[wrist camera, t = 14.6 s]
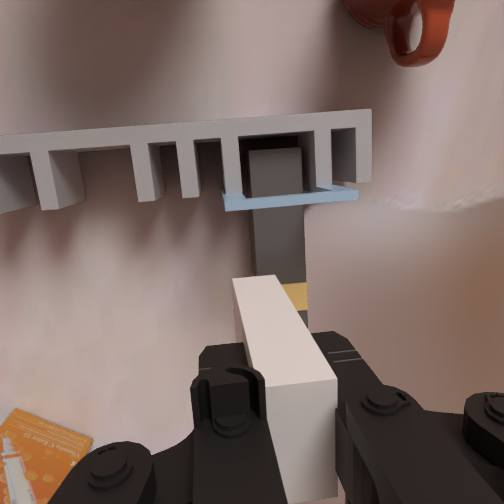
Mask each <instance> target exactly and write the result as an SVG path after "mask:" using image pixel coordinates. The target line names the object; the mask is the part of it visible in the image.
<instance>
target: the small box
mask: <svg viewBox="0 0 504 504" xmlns="http://www.w3.org/2000/svg"><path fill="white" fill-rule="evenodd" d="M92 441H93V438H90V437H87V436H84V435H81V434H79V433H76V432H73V431H71V430H68V429H66V428H64V427H61V426H58V425H56V424H53V423H51V422H48V421H46V420H44V419H41V418H39V417H36V416H34V415H32V414H29V413H27V412H24V411H23V410H20V409H18V408H15V409H14V410H13V411H12V412H11V413H10V415H9V416H8V417H7V418H6V419H5V421H4V422H3V423H2V424H1V426H0V504H47V503H48V501H49V500H50V499H51V497H52V496H53V494H54V493H55V492H56V490H57V489H58V487H59V486H60V485H61V483H62V482H63V480H64V479H65V477H66V476H67V475H68V473H69V472H70V470H71V469H72V468H73V467H74V466H75V465H76V464H77V463H78V462H79V461H80V460H81V459H82V458H83V457H84V456H86V455H87V453H88V450H89V448H90V446H91V444H92Z"/></svg>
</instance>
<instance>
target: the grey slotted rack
mask: <svg viewBox="0 0 504 504" xmlns="http://www.w3.org/2000/svg"><path fill="white" fill-rule="evenodd" d="M295 135H297V147H301V158H302V183H304V184H308V185H312V186H316V187H318V186H330V185H332V170H333V179H334V180H340V181H346V182H352V183H364V182H372V109H358V110H344V111H331V112H317V113H303V114H289V115H276V116H262V117H248V118H234V119H221V120H207V121H193V122H180V123H166V124H152V125H138V126H125V127H111V128H97V129H83V130H70V131H56V132H42V133H28V134H15V135H1V136H0V214H3V213H7V212H10V211H14V210H18V209H22V208H26V207H30V206H34V205H37V202H36V197H35V193H34V188H33V183H32V178H31V173H30V169H29V164H28V159H27V156H31V161H32V166H33V171H34V176H35V181H36V185H37V190H38V195H39V200H40V205H41V210H42V211H43V210H55V209H61V208H64V207H67V206H70V205H73V204H77V203H80V202H83V201H86V197H85V192H84V186H83V181H82V175H81V169H80V164H79V158H78V153H77V152H87V151H100V150H113V149H126V148H130V149H131V155H132V162H133V169H134V176H135V183H136V190H137V196H138V202H146V201H156V200H157V199H158V198H160V197H161V196H163V195H164V194H165V188H164V180H163V172H162V165H161V157H160V149H159V146H165V145H176V147H177V156H178V164H179V172H180V181H181V189H182V197H183V198H192V197H199V196H200V194H201V191H202V189H201V179H200V170H199V161H198V152H197V143H204V142H217V141H220V151H221V162H222V173H223V183H224V190H225V193H226V195H227V194H238V193H242V181H241V169H240V156H239V144H238V140H243V139H256V138H269V137H282V136H295ZM331 135H332V160H331Z"/></svg>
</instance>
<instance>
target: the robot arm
mask: <svg viewBox="0 0 504 504" xmlns="http://www.w3.org/2000/svg"><path fill="white" fill-rule="evenodd" d="M232 284H233V298H234V312H235V326H236V340H237V343H231V344H221V345H212V346H206V348H205V349H204V350H203V352H202V353H201V354H200V356H199V375H198V376H197V377H196V378H195V379H194V380H193V382H192V385H191V387H190V393H191V402H192V411H193V421H194V429H193V431H192V432H191V433H190V434H189V435H188V436H187V438H185V439H184V440H183V441H181V442H180V443H178V444H177V445H175V446H173V447H171V448H169V449H167V450H164V451H161V452H159V453H156V454H154V455H151V453H150V451H149V450H148V449H147V448H145V447H144V446H143V445H141V444H139V443H134V442H129V441H125V442H115V443H111V444H108V445H105V446H102V447H99V448H97V449H95V450H94V451H92V452H90V453H89V454H87V455H86V456H84V457H83V458H82V459H81V460H80V461H79V462H78V463H77V464H76V465H75V466H74V467H73V468H72V469H71V470H70V472H69V473H68V475H67V476H66V477H65V479H64V480H63V482H62V483H61V485H60V486H59V487H58V489H57V490H56V492H55V493H54V494H53V496H52V497H51V499H50V500H49V501H48V503H47V504H293V503H300V502H306V501H313V500H319V499H325V498H332V497H337V496H338V492H337V489H338V487H337V486H338V485H337V483H338V482H337V481H338V478H337V477H339V479H340V482H341V484H342V486H343V489H344V491H345V493H346V494H345V495H346V496H345V499H346V501H345V504H504V393H497V392H496V393H494V392H483V393H477V394H473V395H472V396H470V397H469V398H467V399H466V403H465V406H464V414H454V413H442V412H433V411H427V410H424V409H423V408H422V407H421V406H420V405H419V404H418V402H417V401H416V400H415V399H413V398H412V397H411V396H410V395H409V394H408V393H406V392H404V391H402V390H400V389H398V388H395V387H391V386H387V385H383V384H382V383H381V381H380V380H379V379H378V378H377V376H376V375H375V374H374V372H373V371H372V370H371V369H370V367H369V366H368V365H367V363H366V362H365V361H364V360H363V359H362V358H361V356H360V354H359V353H358V352H357V351H355V348H354V347H353V346H352V344H351V343H350V342H349V340H348V339H347V338H345V337H343V336H341V335H339V334H338V333H336V332H334V331H329V332H320V333H310V332H309V331H308V329H307V327H306V325H305V324H304V322H303V320H302V319H301V317H300V316H299V314H298V312H297V311H296V309H295V307H294V306H293V304H292V302H291V301H290V299H289V297H288V296H287V294H286V292H285V291H284V289H283V287H282V286H281V284H280V282H279V281H278V279H277V277H276V276H275V275H266V276H255V277H244V278H232Z"/></svg>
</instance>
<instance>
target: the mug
mask: <svg viewBox="0 0 504 504" xmlns="http://www.w3.org/2000/svg"><path fill="white" fill-rule="evenodd" d="M343 2H344V5H345V7H346V9H347V10H348V12H349V13H350V15H351V16H352V17H353V18H354V19H355V20H356V21H357V22H359V23H360V24H361V25H363V26H365V27H367V28H371V29H379V30H381V29H384V33H385V37H386V40H387V43H388V46H389V50H390V54H391V57H392V59H393V60H394V61H395V63H397V64H398V65H400V66H402V67H419V66H423V65H426V64H428V63H430V62H431V61H433V60H434V59H435V58H437V57H438V55H439V54H440V52H441V51H442V49H443V47H444V44H445V42H446V38H447V34H448V29H449V22H450V17H451V14H452V11H453V7H454V2H455V0H343ZM420 13H421V15H422V21H423V28H422V36H421V40H420V43H419V45H418V47H417V49H416V50H415V51H412V50H411V47H410V42H409V37H410V31H411V27H412V22H413V19H414V18H415V17H417V16H418V15H419V14H420Z"/></svg>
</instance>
